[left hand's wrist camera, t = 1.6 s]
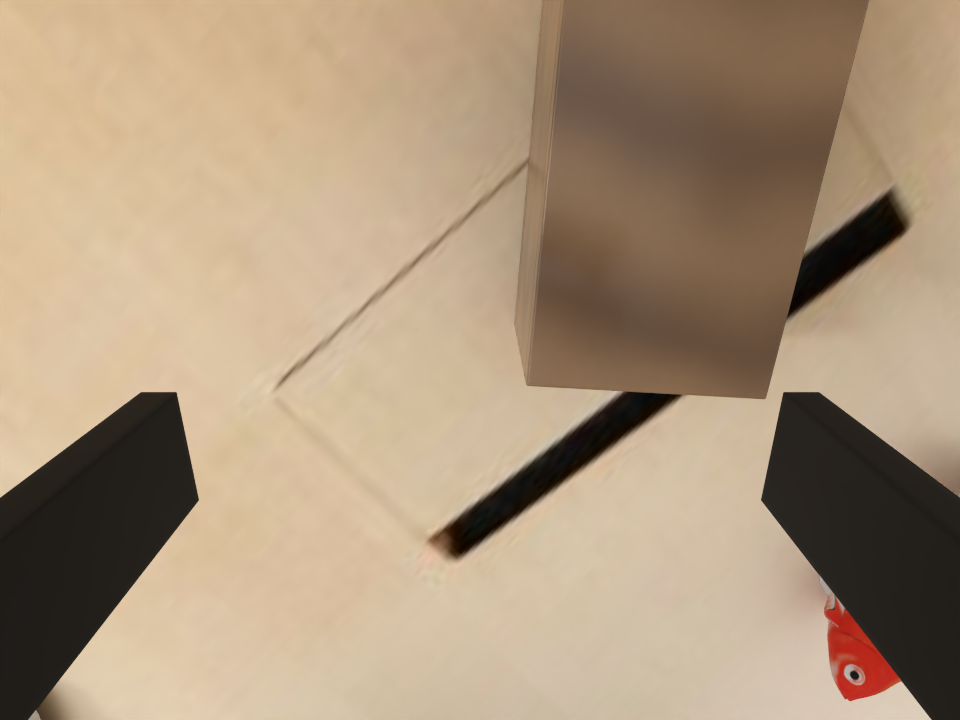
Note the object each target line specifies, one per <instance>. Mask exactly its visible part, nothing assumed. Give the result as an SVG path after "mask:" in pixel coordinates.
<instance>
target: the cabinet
mask: <svg viewBox="0 0 960 720" xmlns="http://www.w3.org/2000/svg"><path fill="white" fill-rule="evenodd" d="M868 2H869V0H543V1H542V12H541V24H540V35H539V47H538V59H537V70H536V82H535V93H534V105H533V116H532V128H531V139H530V151H529V163H528V174H527V186H526V197H525V209H524V220H523V232H522V244H521V255H520V267H519V278H518V290H517V301H516V313H515V330H516V335H517V340H518V345H519V350H520V355H521V360H522V365H523V371H524V376H525V380H526V385H527V386H541V387H559V388H576V389H594V390H612V391H629V392H647V393H665V394H683V395H700V396H718V397H736V398H754V399H765V398H766V396H767V392H768V388H769V384H770V380H771V376H772V372H773V369H774V365H775V361H776V357H777V353H778V349H779V345H780V342H781V338H782V334H783V330H784V326H785V322H786V318H787V315H788V311H789V307H790V303H791V299H792V295H793V291H794V288H795V284H796V280H797V276H798V272H799V268H800V264H801V261H802V257H803V253H804V249H805V245H806V241H807V238H808V234H809V230H810V226H811V222H812V218H813V214H814V211H815V207H816V203H817V199H818V195H819V191H820V187H821V184H822V180H823V176H824V172H825V168H826V164H827V160H828V157H829V153H830V149H831V145H832V141H833V137H834V133H835V130H836V126H837V122H838V118H839V114H840V110H841V106H842V103H843V99H844V95H845V91H846V87H847V83H848V79H849V76H850V72H851V68H852V64H853V60H854V56H855V52H856V49H857V45H858V41H859V37H860V33H861V29H862V25H863V22H864V18H865V14H866V10H867V6H868Z"/></svg>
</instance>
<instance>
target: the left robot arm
mask: <svg viewBox="0 0 960 720" xmlns="http://www.w3.org/2000/svg"><path fill="white" fill-rule="evenodd" d="M198 501H199V498H198V494H197V489H196V484H195V479H194V474H193V469H192V465H191V460H190V455H189V450H188V445H187V441H186V436H185V431H184V426H183V421H182V417H181V412H180V407H179V402H178V397H177V393H176V392H141V393H139V394H138V395H137V396H135V397H134V398H133V399H131V400H130V401H129V402H127V403H126V404H125V405H123V406H122V407H121V408H119V409H118V410H117V411H115V412H114V413H113V414H111V415H110V416H109V417H107V418H106V419H105V420H103V421H102V422H101V423H99V424H98V425H97V426H95V427H94V428H93V429H91V430H90V431H89V432H87V433H86V434H85V435H83V436H82V437H81V438H79V439H78V440H77V441H75V442H74V443H73V444H71V445H70V446H69V447H67V448H66V449H65V450H63V451H62V452H61V453H59V454H58V455H57V456H55V457H54V458H53V459H51V460H50V461H49V462H47V463H46V464H45V465H43V466H42V467H41V468H39V469H38V470H37V471H35V472H34V473H33V474H31V475H30V476H29V477H27V478H26V479H25V480H23V481H22V482H21V483H19V484H18V485H17V486H15V487H14V488H13V489H11V490H10V491H9V492H7V493H6V494H5V495H3V496H2V497H1V498H0V720H28V719H29V718H30V717H31V716H32V714H33V713H34V712H35V710H36V709H37V708H38V707H39V705H40V704H41V703H42V701H43V700H44V699H45V698H46V696H47V695H48V694H49V692H50V691H51V690H52V689H53V687H54V686H55V685H56V683H57V682H58V681H59V680H60V678H61V677H62V676H63V674H64V673H65V672H66V671H67V669H68V668H69V667H70V665H71V664H72V663H73V662H74V660H75V659H76V658H77V656H78V655H79V654H80V653H81V651H82V650H83V649H84V647H85V646H86V645H87V644H88V642H89V641H90V640H91V638H92V637H93V636H94V635H95V633H96V632H97V631H98V629H99V628H100V627H101V626H102V624H103V623H104V622H105V620H106V619H107V618H108V616H109V615H110V614H111V613H112V611H113V610H114V609H115V607H116V606H117V605H118V604H119V602H120V601H121V600H122V598H123V597H124V596H125V595H126V593H127V592H128V591H129V589H130V588H131V587H132V586H133V584H134V583H135V582H136V580H137V579H138V578H139V577H140V575H141V574H142V573H143V571H144V570H145V569H146V568H147V566H148V565H149V564H150V562H151V561H152V560H153V559H154V557H155V556H156V555H157V553H158V552H159V551H160V550H161V548H162V547H163V546H164V544H165V543H166V542H167V541H168V539H169V538H170V537H171V535H172V534H173V533H174V532H175V530H176V529H177V528H178V526H179V525H180V524H181V523H182V521H183V520H184V519H185V517H186V516H187V515H188V514H189V512H190V511H191V510H192V508H193V507H194V506H195V504H196V503H197V502H198ZM761 501H762V502H763V503H764V504H765V506H766V507H767V508H768V510H769V511H770V512H771V514H772V515H773V516H774V517H775V519H776V520H777V521H778V523H779V524H780V525H781V526H782V528H783V529H784V530H785V532H786V533H787V534H788V535H789V537H790V538H791V539H792V541H793V542H794V543H795V544H796V546H797V547H798V548H799V550H800V551H801V552H802V553H803V555H804V556H805V557H806V559H807V560H808V561H809V562H810V564H811V565H812V566H813V568H814V569H815V570H816V571H817V573H818V574H819V575H820V577H821V578H822V579H823V580H824V582H825V583H826V584H827V586H828V587H829V588H830V589H831V591H832V592H833V593H834V595H835V596H836V597H837V598H838V600H839V601H840V602H841V604H842V605H843V606H844V607H845V609H846V610H847V611H848V613H849V614H850V615H851V616H852V618H853V619H854V620H855V622H856V623H857V624H858V626H859V627H860V628H861V629H862V631H863V632H864V633H865V635H866V636H867V637H868V638H869V640H870V641H871V642H872V644H873V645H874V646H875V647H876V649H877V650H878V651H879V653H880V654H881V655H882V656H883V658H884V659H885V660H886V662H887V663H888V664H889V665H890V667H891V668H892V669H893V671H894V672H895V673H896V674H897V676H898V677H899V678H900V680H901V681H902V682H903V683H904V685H905V686H906V687H907V689H908V690H909V691H910V692H911V694H912V695H913V696H914V698H915V699H916V700H917V701H918V703H919V704H920V705H921V707H922V708H923V709H924V710H925V712H926V713H927V714H928V716H929V717H930V718H931V719H932V720H960V498H959V497H958V496H957V495H955V494H954V493H953V492H951V491H950V490H949V489H947V488H946V487H945V486H943V485H942V484H941V483H939V482H938V481H937V480H935V479H934V478H933V477H931V476H930V475H929V474H927V473H926V472H925V471H923V470H922V469H921V468H919V467H918V466H917V465H915V464H914V463H913V462H911V461H910V460H909V459H907V458H906V457H905V456H903V455H902V454H901V453H899V452H898V451H897V450H895V449H894V448H893V447H891V446H890V445H889V444H887V443H886V442H885V441H883V440H882V439H881V438H879V437H878V436H877V435H875V434H874V433H873V432H871V431H870V430H869V429H867V428H866V427H865V426H863V425H862V424H861V423H859V422H858V421H857V420H855V419H854V418H853V417H851V416H850V415H849V414H847V413H846V412H845V411H843V410H842V409H841V408H839V407H838V406H837V405H835V404H834V403H833V402H831V401H830V400H829V399H827V398H826V397H825V396H823V395H822V394H821V393H819V392H784V393H783V397H782V402H781V407H780V412H779V417H778V421H777V426H776V431H775V436H774V441H773V445H772V450H771V455H770V460H769V465H768V469H767V474H766V479H765V484H764V489H763V494H762V498H761Z"/></svg>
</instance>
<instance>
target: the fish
mask: <svg viewBox="0 0 960 720" xmlns="http://www.w3.org/2000/svg"><path fill="white" fill-rule="evenodd" d="M819 580H820V584H821V586H822V588H823V590H824V591H825V593H826V594H827V596H828V600H827V602H826V605H825V608H824V615H825V616H826V617H827V618H828V619H829V620H828V634H827V636H828V649H829V661H830V668H831V672H832V676H833V678H834V681H835V683H836V685H837V687H838V689H839V690H840V692H841V694H842V695H843V697H844V698H845V699H848V700H849V701H853V700H856V699H860V698H864V697H869V696H872V695H876V694H878V693H880V692H883V691H885V690H886V689H888V688H890V687H891V686H893V685H895V684H896V683H898V682H900V681H901V680H900V678H899V677H898V676H897V674H896V673H895V672H894V671H893V669H892V668H891V667H890V665H889V664H888V663H887V662H886V660H885V659H884V658H883V656H882V655H881V654H880V653H879V651H878V650H877V649H876V647H875V646H874V645H873V644H872V642H871V641H870V640H869V638H868V637H867V636H866V635H865V633H864V632H863V631H862V629H861V628H860V627H859V626H858V624H857V623H856V622H855V620H854V619H853V618H852V616H851V615H850V614H849V613H848V611H847V610H846V609H845V607H844V606H843V605H842V604H841V602H840V601H839V600H838V598H837V597H836V596H835V595H834V593H833V592H832V591H831V589H830V588H829V587H828V586H827V584H826V583H825V582H824V580H823V579H822V578H821V577H820V575H819Z"/></svg>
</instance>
